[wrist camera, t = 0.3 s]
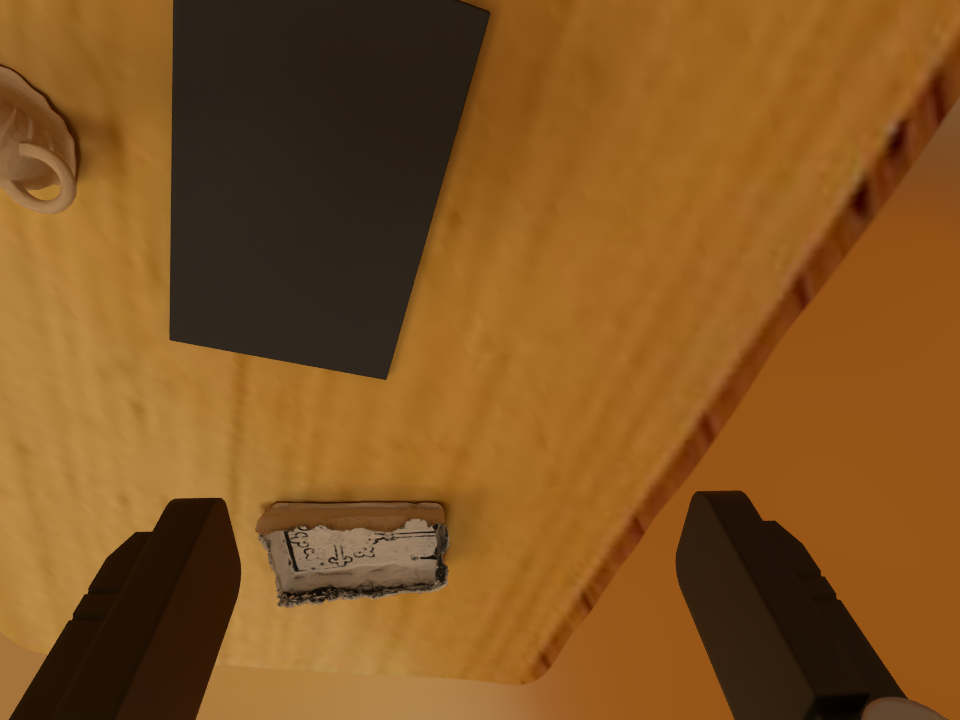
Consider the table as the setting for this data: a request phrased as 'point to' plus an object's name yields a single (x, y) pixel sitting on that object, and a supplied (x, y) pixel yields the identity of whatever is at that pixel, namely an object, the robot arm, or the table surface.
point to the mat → (310, 169)
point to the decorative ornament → (33, 147)
